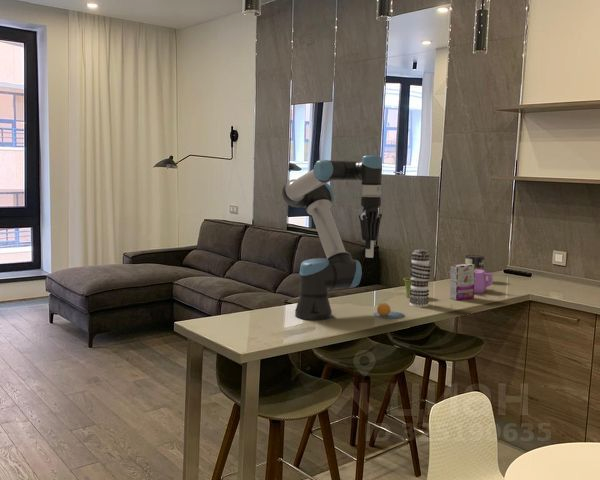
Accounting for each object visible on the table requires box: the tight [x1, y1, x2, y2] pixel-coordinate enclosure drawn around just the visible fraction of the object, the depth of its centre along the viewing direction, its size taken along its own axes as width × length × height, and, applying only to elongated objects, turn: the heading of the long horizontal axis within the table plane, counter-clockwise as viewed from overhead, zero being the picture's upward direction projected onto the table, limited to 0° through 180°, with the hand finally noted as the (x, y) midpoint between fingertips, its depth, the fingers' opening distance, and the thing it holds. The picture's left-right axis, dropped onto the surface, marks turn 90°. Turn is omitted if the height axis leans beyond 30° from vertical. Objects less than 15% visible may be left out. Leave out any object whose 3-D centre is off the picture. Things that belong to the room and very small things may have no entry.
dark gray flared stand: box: [464, 254, 485, 271], centre depth 341 cm, size 10×10×14 cm
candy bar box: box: [449, 263, 475, 301], centre depth 291 cm, size 11×5×16 cm, turn 117°
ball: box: [376, 302, 391, 316], centre depth 253 cm, size 6×6×6 cm
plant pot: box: [403, 277, 411, 299], centre depth 294 cm, size 9×9×9 cm
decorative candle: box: [408, 248, 432, 308], centre depth 275 cm, size 9×9×25 cm
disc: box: [372, 310, 406, 320], centre depth 255 cm, size 13×13×1 cm
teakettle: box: [448, 269, 494, 295], centre depth 312 cm, size 17×17×12 cm
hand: (369, 257), depth 237 cm, fingers closed
